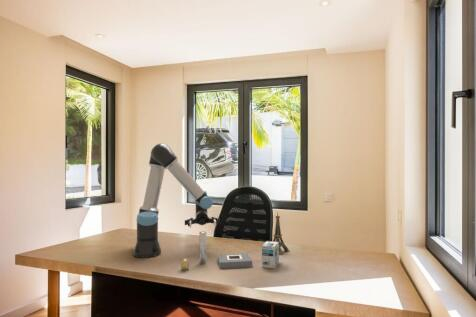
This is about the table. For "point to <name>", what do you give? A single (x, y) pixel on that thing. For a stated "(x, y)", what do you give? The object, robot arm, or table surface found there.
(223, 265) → the flat grey box
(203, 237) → the steel pin
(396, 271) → the table surface
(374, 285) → the table surface
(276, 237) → the eiffel tower
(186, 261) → the brass pin
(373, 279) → the table surface
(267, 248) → the light bulb box
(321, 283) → the table surface
